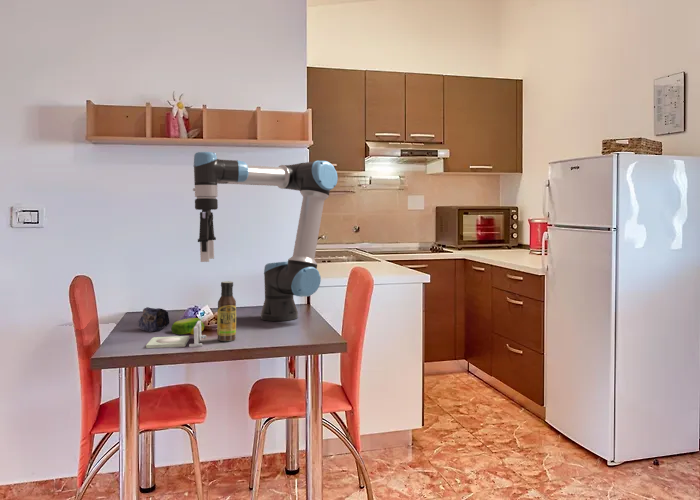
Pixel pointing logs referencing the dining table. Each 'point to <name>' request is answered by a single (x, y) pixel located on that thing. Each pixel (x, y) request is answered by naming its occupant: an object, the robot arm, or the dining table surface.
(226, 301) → the sauce bottle
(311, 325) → the dining table surface
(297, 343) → the dining table surface
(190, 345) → the divider
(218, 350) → the dining table surface
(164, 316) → the rock
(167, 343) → the pad
